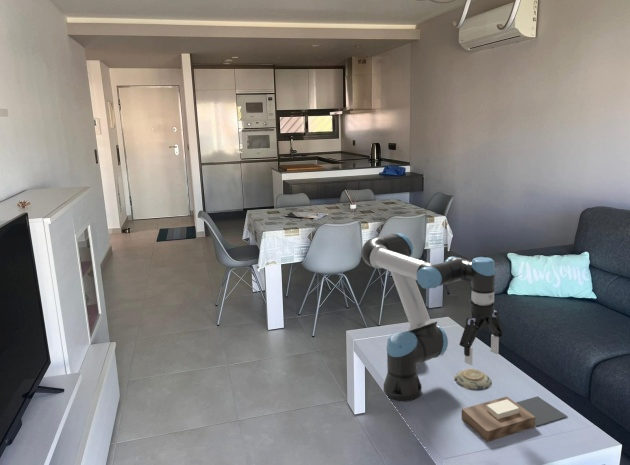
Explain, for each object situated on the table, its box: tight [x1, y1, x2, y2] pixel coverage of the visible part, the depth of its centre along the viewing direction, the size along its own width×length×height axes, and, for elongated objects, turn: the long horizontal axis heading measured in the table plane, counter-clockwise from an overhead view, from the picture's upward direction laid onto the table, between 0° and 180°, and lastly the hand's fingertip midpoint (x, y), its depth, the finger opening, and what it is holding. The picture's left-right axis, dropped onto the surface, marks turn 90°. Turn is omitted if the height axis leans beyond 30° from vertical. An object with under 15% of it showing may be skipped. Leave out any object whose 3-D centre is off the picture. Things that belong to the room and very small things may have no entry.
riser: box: [461, 396, 536, 443], centre depth 169 cm, size 20×14×4 cm
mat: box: [516, 395, 568, 427], centre depth 175 cm, size 14×14×1 cm
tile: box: [486, 399, 519, 419], centre depth 169 cm, size 9×6×2 cm, turn 109°
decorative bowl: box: [453, 368, 493, 391], centre depth 197 cm, size 15×4×15 cm
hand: (481, 358), depth 171 cm, fingers open, 13 cm apart
